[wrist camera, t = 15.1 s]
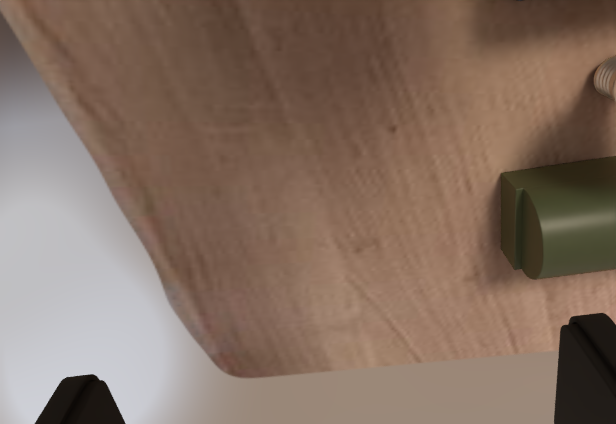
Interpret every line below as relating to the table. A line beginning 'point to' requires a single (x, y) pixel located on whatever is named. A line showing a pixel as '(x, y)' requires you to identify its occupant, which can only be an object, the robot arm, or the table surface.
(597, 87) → the lightbulb
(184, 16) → the table surface
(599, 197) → the olive bag
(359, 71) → the table surface
